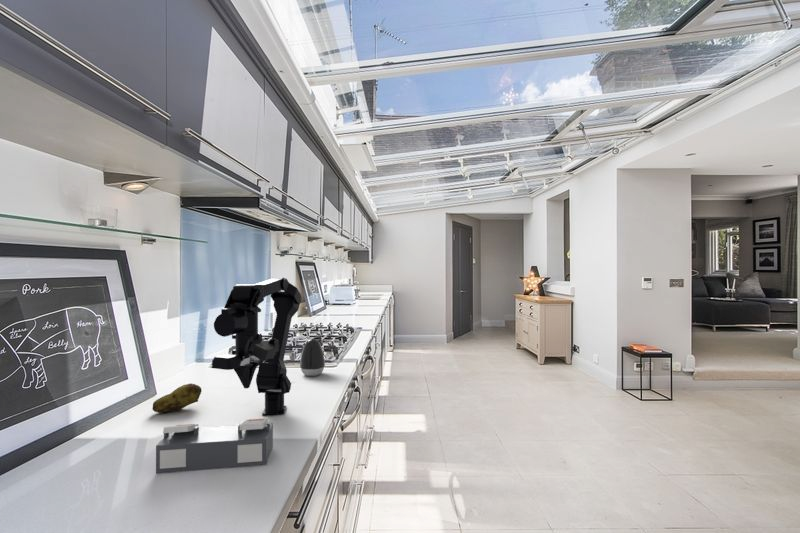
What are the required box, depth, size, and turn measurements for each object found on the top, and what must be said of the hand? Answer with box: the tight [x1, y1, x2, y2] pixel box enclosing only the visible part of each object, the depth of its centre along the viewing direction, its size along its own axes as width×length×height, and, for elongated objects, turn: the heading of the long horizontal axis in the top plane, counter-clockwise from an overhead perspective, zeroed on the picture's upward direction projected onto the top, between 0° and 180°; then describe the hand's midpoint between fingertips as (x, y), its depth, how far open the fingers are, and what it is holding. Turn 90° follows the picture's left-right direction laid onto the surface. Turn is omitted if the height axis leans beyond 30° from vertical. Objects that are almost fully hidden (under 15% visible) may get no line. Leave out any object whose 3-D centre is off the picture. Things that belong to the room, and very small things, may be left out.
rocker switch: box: [239, 417, 269, 430], centre depth 93 cm, size 7×5×1 cm
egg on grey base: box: [299, 338, 326, 377], centre depth 165 cm, size 10×10×15 cm
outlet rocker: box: [162, 423, 199, 434], centre depth 90 cm, size 7×5×1 cm
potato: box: [152, 383, 202, 414], centre depth 124 cm, size 8×13×8 cm, turn 99°
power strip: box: [155, 421, 274, 474], centre depth 91 cm, size 9×23×8 cm, turn 99°
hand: (246, 388), depth 107 cm, fingers closed
